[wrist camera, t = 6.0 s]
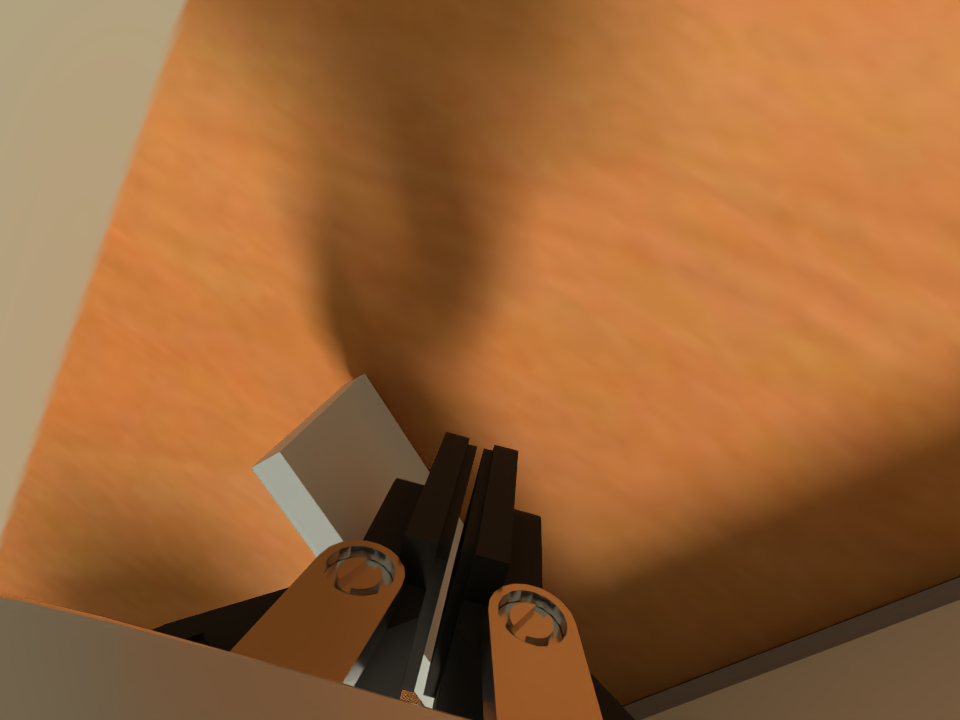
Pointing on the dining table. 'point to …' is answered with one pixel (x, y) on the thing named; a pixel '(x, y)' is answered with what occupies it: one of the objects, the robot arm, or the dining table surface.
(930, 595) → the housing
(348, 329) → the dining table surface
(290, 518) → the side door
